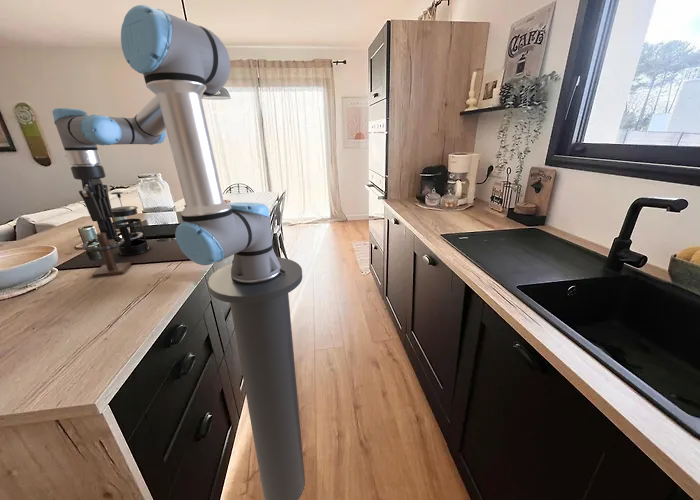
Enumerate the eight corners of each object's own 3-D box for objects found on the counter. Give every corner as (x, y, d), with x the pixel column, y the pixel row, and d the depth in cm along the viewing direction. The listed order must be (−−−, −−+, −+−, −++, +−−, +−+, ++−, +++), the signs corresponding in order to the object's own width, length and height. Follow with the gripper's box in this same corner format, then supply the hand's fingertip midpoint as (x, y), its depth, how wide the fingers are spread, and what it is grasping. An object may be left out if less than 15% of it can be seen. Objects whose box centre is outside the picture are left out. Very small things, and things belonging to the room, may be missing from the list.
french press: (124, 248, 115) (107, 190, 106) (152, 245, 118) (137, 189, 110) (115, 258, 104) (94, 195, 96) (145, 255, 108) (128, 194, 100)
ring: (129, 237, 98) (128, 234, 98) (119, 250, 89) (117, 247, 89) (91, 239, 95) (90, 236, 94) (77, 253, 86) (75, 250, 85)
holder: (131, 264, 100) (120, 228, 95) (123, 273, 93) (110, 235, 88) (103, 267, 97) (91, 231, 93) (92, 277, 90) (78, 238, 86)
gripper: (82, 163, 92) (105, 233, 101) (57, 167, 80) (85, 246, 88) (110, 163, 95) (130, 231, 103) (90, 166, 82) (114, 244, 90)
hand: (109, 238), depth 96 cm, fingers closed on ring, 1 cm apart
